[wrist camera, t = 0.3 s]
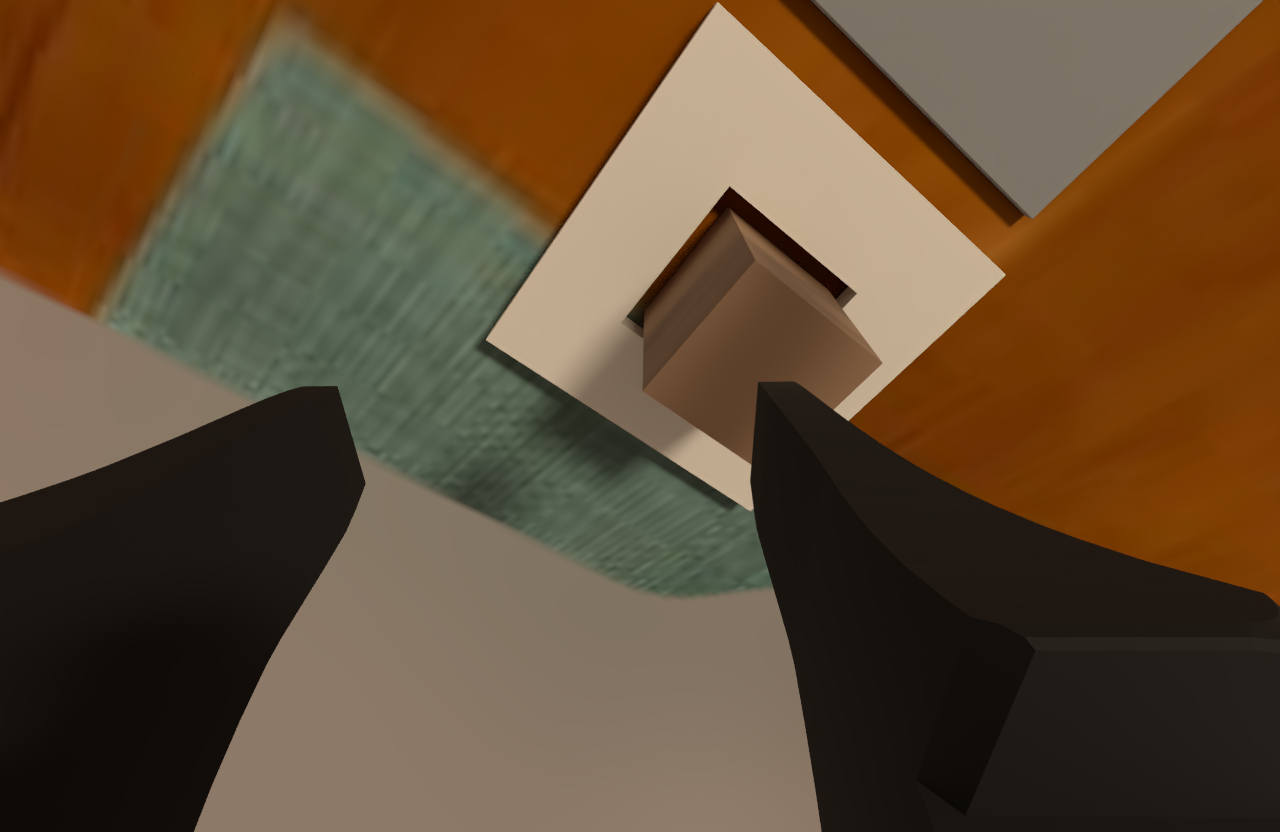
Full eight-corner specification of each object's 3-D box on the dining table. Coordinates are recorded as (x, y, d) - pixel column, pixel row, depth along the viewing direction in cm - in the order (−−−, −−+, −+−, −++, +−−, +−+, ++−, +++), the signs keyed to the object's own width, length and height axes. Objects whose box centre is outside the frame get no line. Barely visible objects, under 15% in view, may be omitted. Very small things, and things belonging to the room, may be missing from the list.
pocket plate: (992, 266, 19) (1006, 275, 18) (747, 497, 24) (750, 511, 23) (714, 3, 16) (717, 2, 15) (491, 329, 20) (485, 340, 20)
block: (825, 287, 19) (882, 363, 15) (739, 378, 21) (765, 474, 16) (727, 205, 18) (755, 260, 14) (644, 309, 20) (642, 391, 15)
